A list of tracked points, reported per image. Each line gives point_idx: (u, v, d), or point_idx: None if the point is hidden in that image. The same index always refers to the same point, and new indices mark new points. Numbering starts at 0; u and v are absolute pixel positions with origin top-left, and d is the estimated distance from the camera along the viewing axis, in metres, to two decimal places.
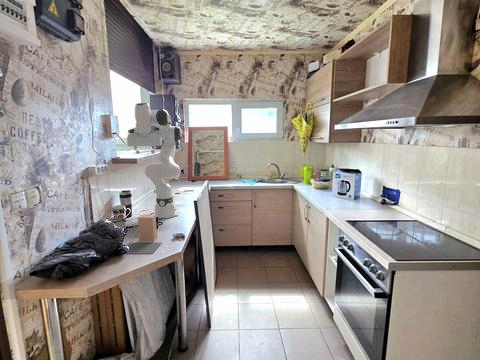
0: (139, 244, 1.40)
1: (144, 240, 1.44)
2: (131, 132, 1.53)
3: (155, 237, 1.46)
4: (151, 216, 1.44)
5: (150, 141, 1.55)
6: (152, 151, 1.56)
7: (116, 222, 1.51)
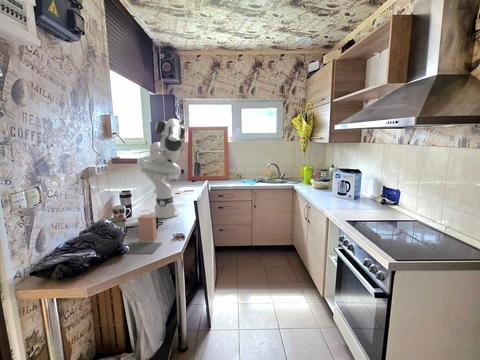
0: (139, 244, 1.40)
1: (144, 240, 1.44)
2: None
3: (155, 237, 1.46)
4: (151, 216, 1.44)
5: None
6: None
7: (116, 222, 1.51)
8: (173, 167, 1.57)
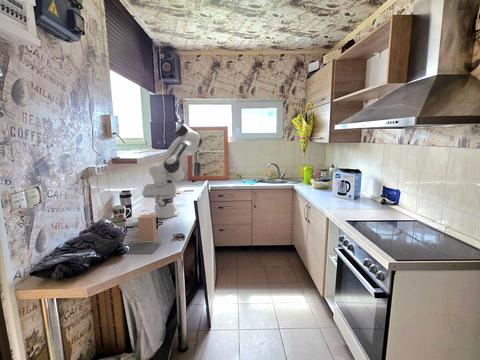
0: (139, 244, 1.40)
1: (144, 240, 1.44)
2: None
3: (155, 237, 1.46)
4: (151, 216, 1.44)
5: None
6: None
7: (116, 222, 1.51)
8: (172, 188, 1.61)
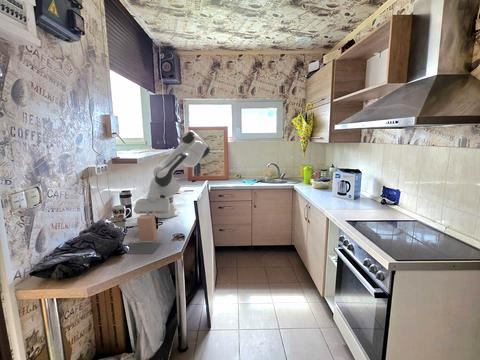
0: (139, 244, 1.40)
1: (144, 240, 1.44)
2: None
3: (155, 237, 1.46)
4: (150, 216, 1.43)
5: None
6: None
7: (116, 222, 1.51)
8: (165, 203, 1.50)
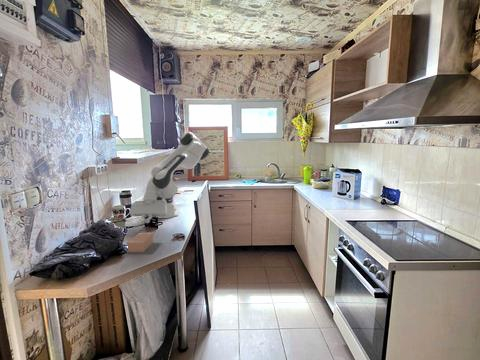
0: None
1: None
2: None
3: (152, 238, 1.42)
4: (140, 247, 1.30)
5: None
6: None
7: (116, 222, 1.51)
8: (162, 206, 1.45)
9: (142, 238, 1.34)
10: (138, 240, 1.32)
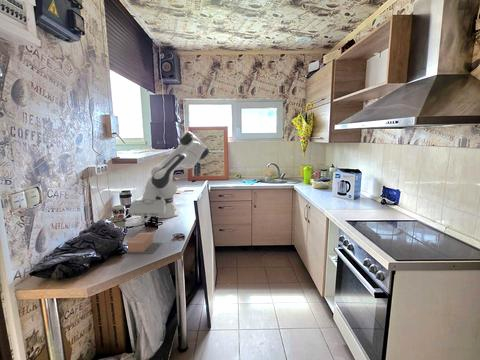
0: None
1: None
2: None
3: (152, 238, 1.42)
4: (140, 247, 1.30)
5: None
6: None
7: (116, 222, 1.51)
8: (161, 205, 1.45)
9: (142, 238, 1.34)
10: (138, 240, 1.32)
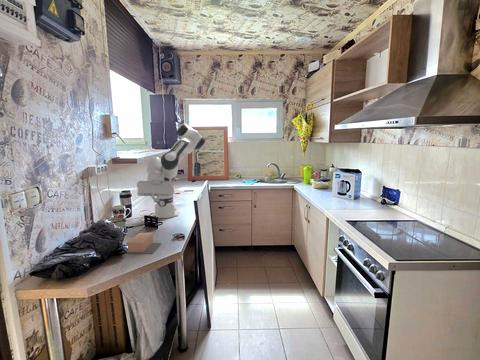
0: None
1: None
2: None
3: (152, 238, 1.42)
4: (140, 247, 1.30)
5: None
6: None
7: (116, 222, 1.51)
8: (170, 186, 1.53)
9: (142, 238, 1.34)
10: (138, 240, 1.32)
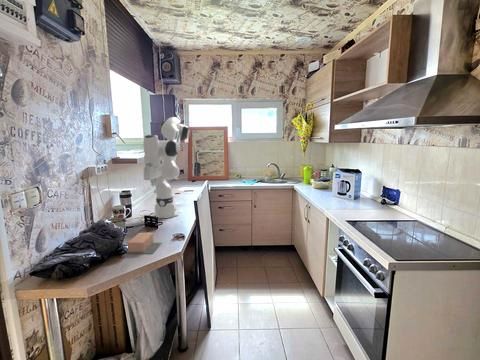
0: None
1: None
2: None
3: (152, 238, 1.42)
4: (140, 247, 1.30)
5: None
6: None
7: (116, 222, 1.51)
8: (160, 169, 1.62)
9: (142, 238, 1.34)
10: (138, 240, 1.32)
